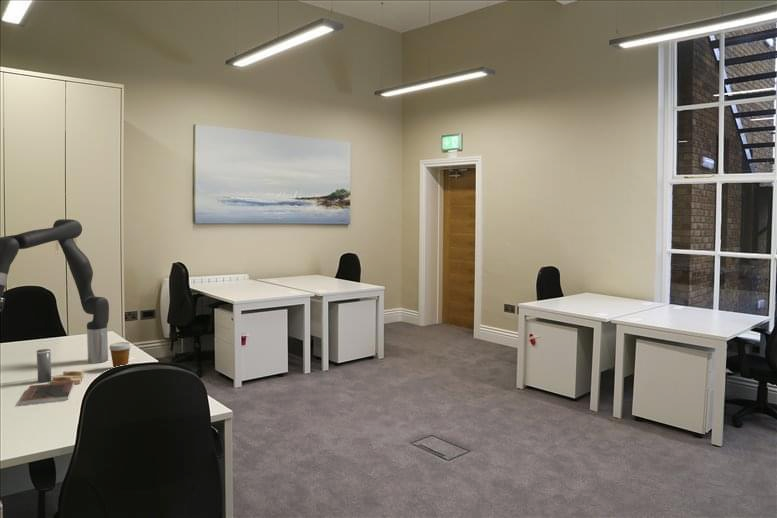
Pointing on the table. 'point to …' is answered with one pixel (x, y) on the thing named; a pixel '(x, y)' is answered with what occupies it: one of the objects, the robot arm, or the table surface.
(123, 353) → the disposable coffee cup
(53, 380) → the stand
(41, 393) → the picture frame
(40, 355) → the domed lid canister
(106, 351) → the robot arm
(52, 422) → the table surface
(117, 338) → the table surface
